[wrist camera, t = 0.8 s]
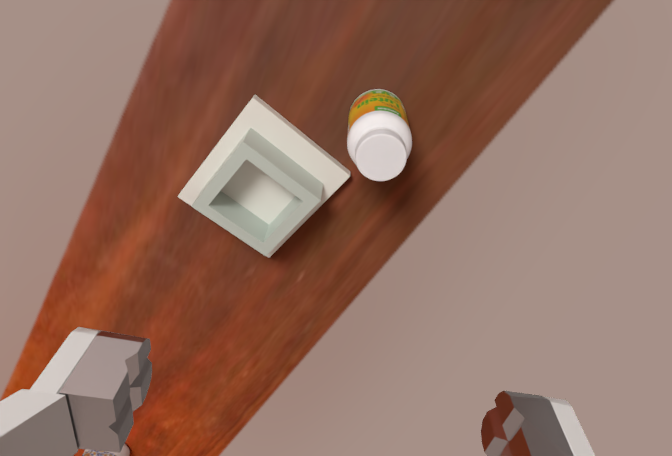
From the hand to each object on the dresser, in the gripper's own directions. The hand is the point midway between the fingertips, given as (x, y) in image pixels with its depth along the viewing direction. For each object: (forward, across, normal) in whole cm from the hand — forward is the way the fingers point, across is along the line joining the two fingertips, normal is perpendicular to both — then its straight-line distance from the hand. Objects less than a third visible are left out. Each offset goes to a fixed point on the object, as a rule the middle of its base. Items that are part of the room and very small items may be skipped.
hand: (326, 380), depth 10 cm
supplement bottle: (+35, -4, +5) cm, 35 cm away
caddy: (+35, +6, +14) cm, 38 cm away
